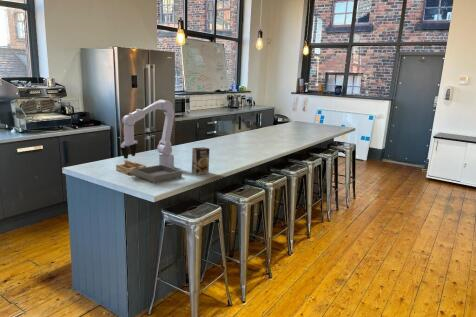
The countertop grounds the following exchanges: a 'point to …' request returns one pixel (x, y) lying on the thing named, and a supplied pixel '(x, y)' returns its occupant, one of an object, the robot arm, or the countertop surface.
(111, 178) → the countertop surface
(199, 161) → the coffee box
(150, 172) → the charcoal crate
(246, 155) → the countertop surface
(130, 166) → the pine crate
